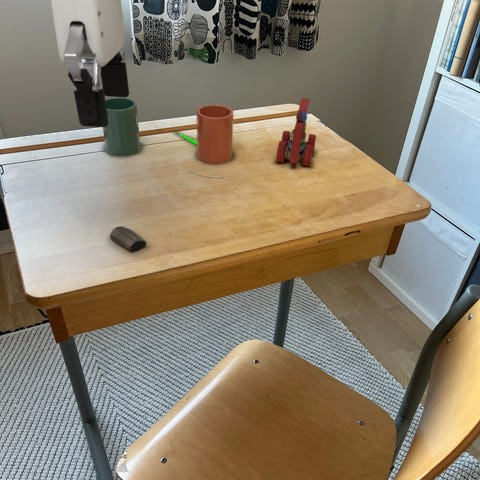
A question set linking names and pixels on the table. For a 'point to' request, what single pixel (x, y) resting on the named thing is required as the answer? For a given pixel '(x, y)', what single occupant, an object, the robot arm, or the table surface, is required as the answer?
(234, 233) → the table surface
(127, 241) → the block
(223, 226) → the table surface
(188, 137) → the green marker pen
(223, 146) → the cup
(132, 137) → the green cup
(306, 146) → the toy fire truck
